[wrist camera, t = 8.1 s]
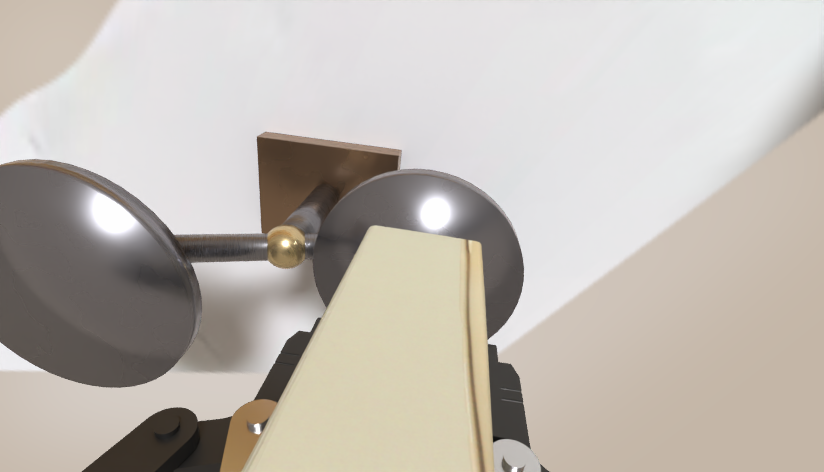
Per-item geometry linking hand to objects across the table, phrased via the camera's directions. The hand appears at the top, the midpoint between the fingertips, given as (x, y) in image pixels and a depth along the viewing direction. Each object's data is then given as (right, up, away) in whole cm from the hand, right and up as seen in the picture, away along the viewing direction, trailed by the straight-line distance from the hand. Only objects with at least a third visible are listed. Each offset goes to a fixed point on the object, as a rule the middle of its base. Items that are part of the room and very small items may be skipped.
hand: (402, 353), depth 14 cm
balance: (-5, +7, +12) cm, 15 cm away
